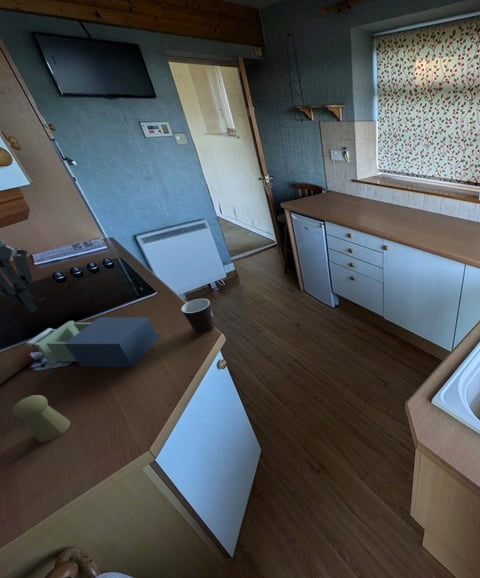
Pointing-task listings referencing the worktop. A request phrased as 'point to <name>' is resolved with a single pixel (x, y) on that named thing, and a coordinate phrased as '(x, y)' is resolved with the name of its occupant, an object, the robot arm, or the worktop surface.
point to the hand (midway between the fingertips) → (30, 309)
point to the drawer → (57, 341)
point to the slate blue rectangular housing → (113, 342)
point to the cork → (41, 418)
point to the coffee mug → (199, 315)
